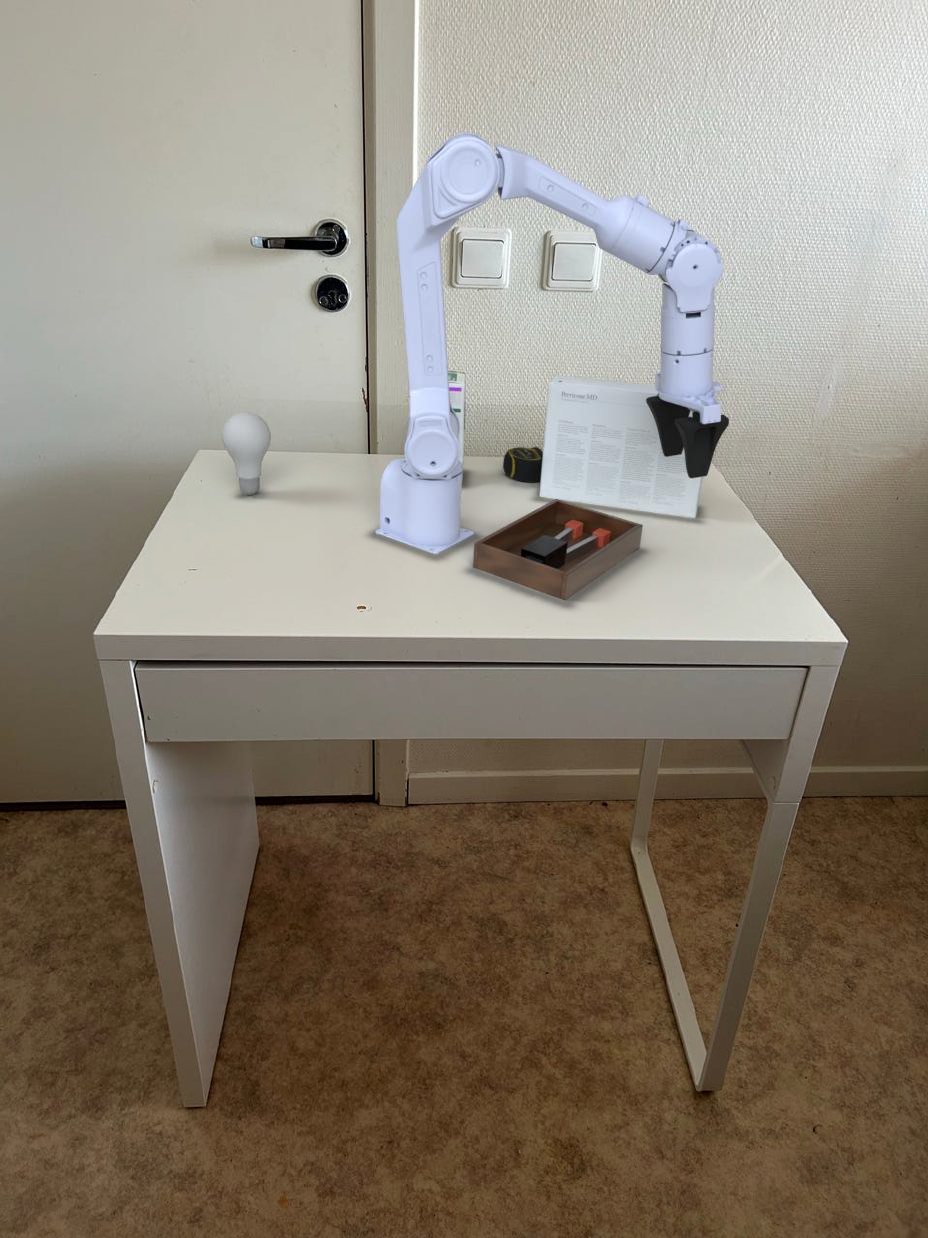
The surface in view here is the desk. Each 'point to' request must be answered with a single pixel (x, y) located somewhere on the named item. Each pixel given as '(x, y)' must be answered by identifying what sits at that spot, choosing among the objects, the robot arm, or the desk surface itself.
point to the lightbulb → (247, 447)
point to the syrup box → (458, 404)
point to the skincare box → (611, 450)
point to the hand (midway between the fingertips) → (684, 465)
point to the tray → (505, 546)
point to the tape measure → (523, 464)
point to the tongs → (564, 545)
